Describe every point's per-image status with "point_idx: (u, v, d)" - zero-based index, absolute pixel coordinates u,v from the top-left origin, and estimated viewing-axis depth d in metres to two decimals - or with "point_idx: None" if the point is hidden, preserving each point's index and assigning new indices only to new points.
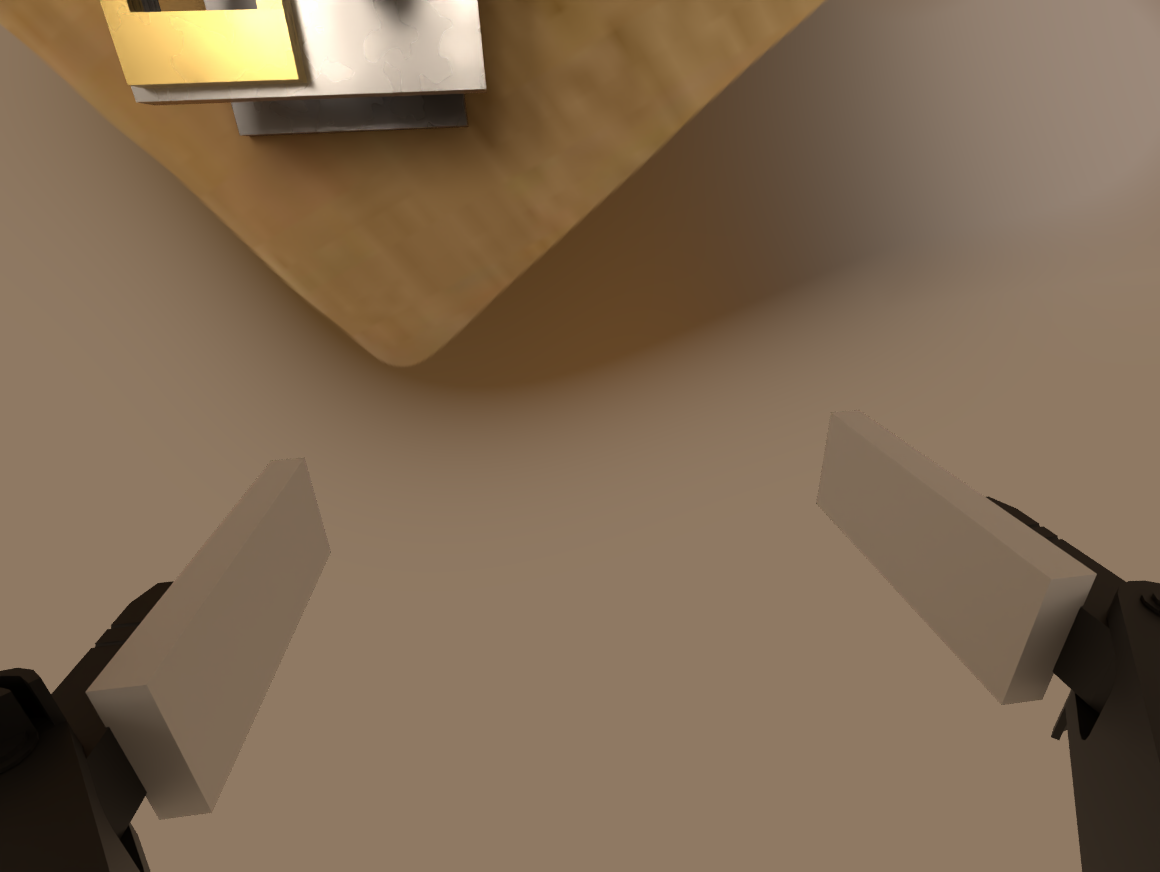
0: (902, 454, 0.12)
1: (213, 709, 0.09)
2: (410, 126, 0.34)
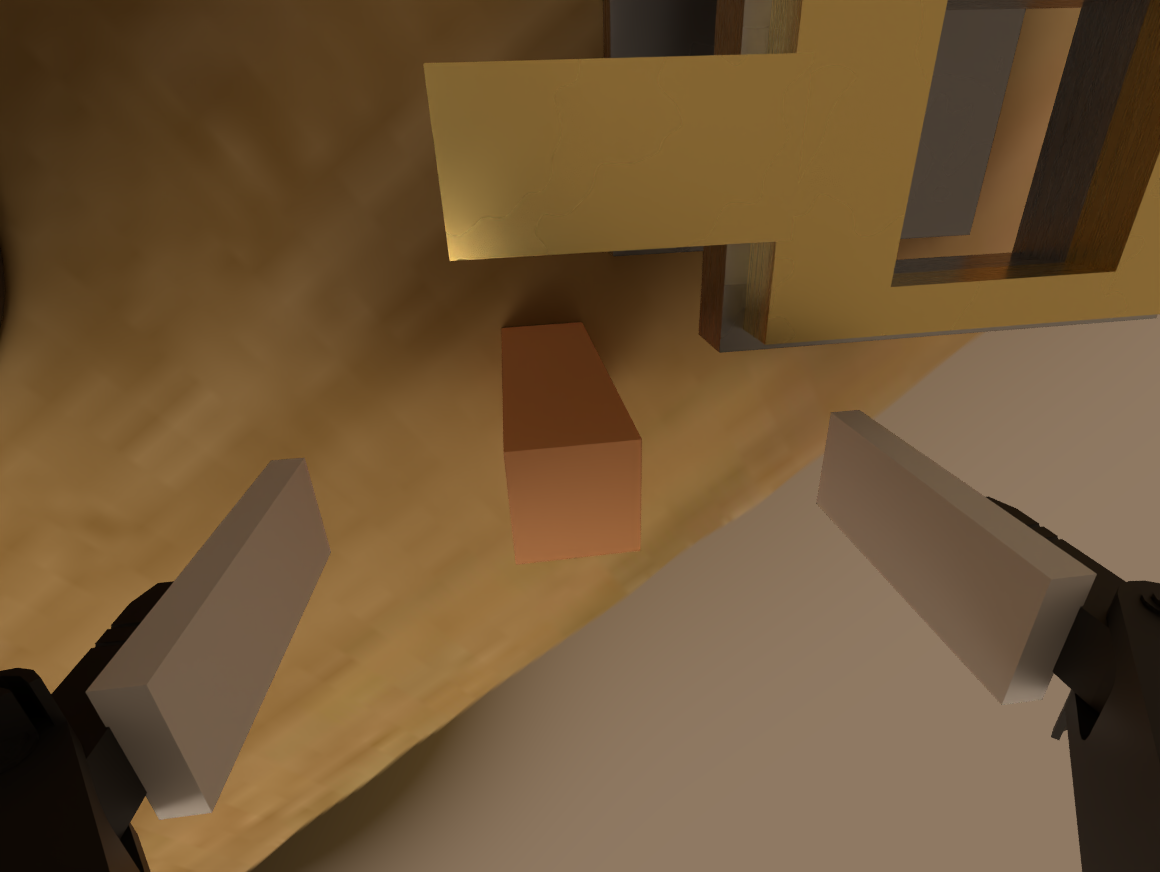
0: (902, 454, 0.12)
1: (213, 709, 0.09)
2: None
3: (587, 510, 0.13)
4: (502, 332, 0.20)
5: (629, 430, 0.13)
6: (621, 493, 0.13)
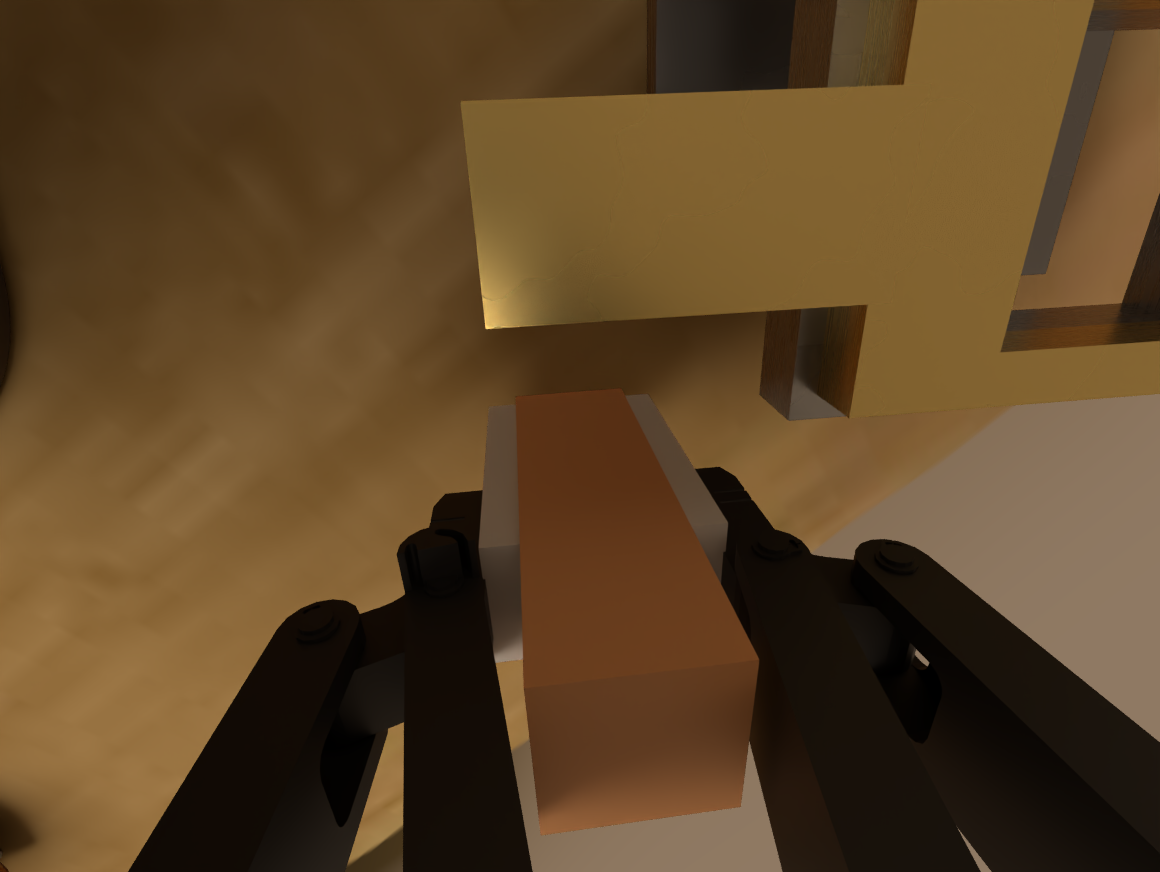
0: (652, 430, 0.14)
1: None
2: None
3: (660, 761, 0.08)
4: (517, 404, 0.15)
5: (732, 633, 0.08)
6: (718, 734, 0.08)
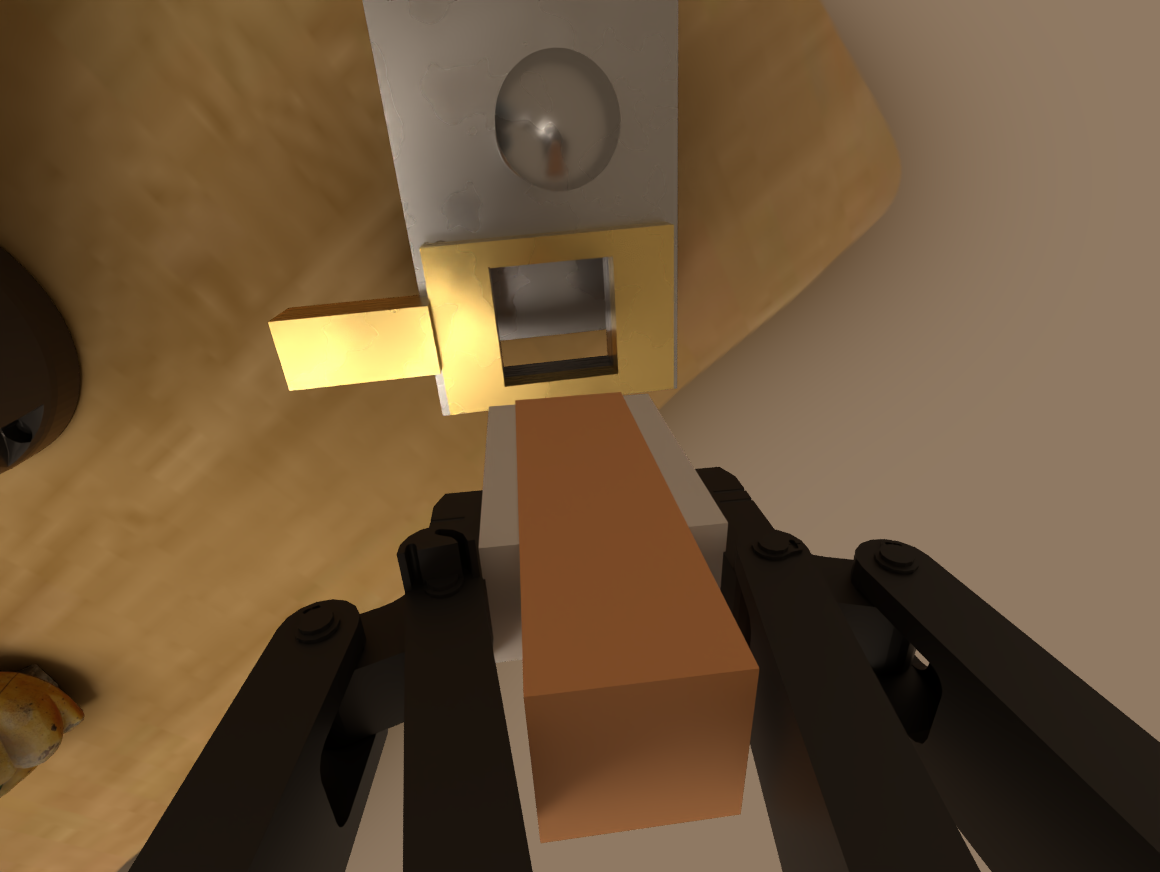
0: (652, 430, 0.14)
1: None
2: None
3: (661, 768, 0.08)
4: (516, 408, 0.15)
5: (732, 641, 0.08)
6: (717, 743, 0.08)
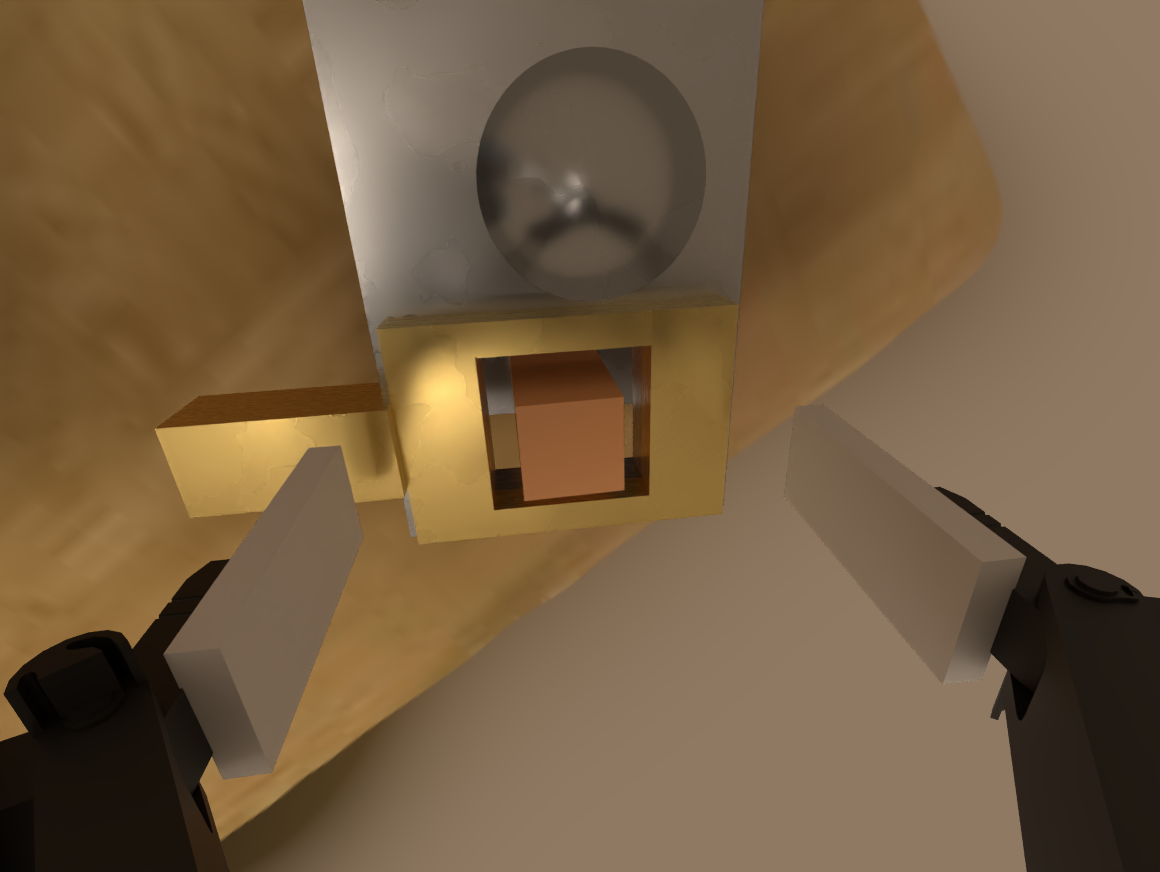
0: (858, 446, 0.13)
1: (271, 676, 0.09)
2: None
3: (581, 455, 0.16)
4: None
5: (614, 391, 0.16)
6: (608, 441, 0.16)
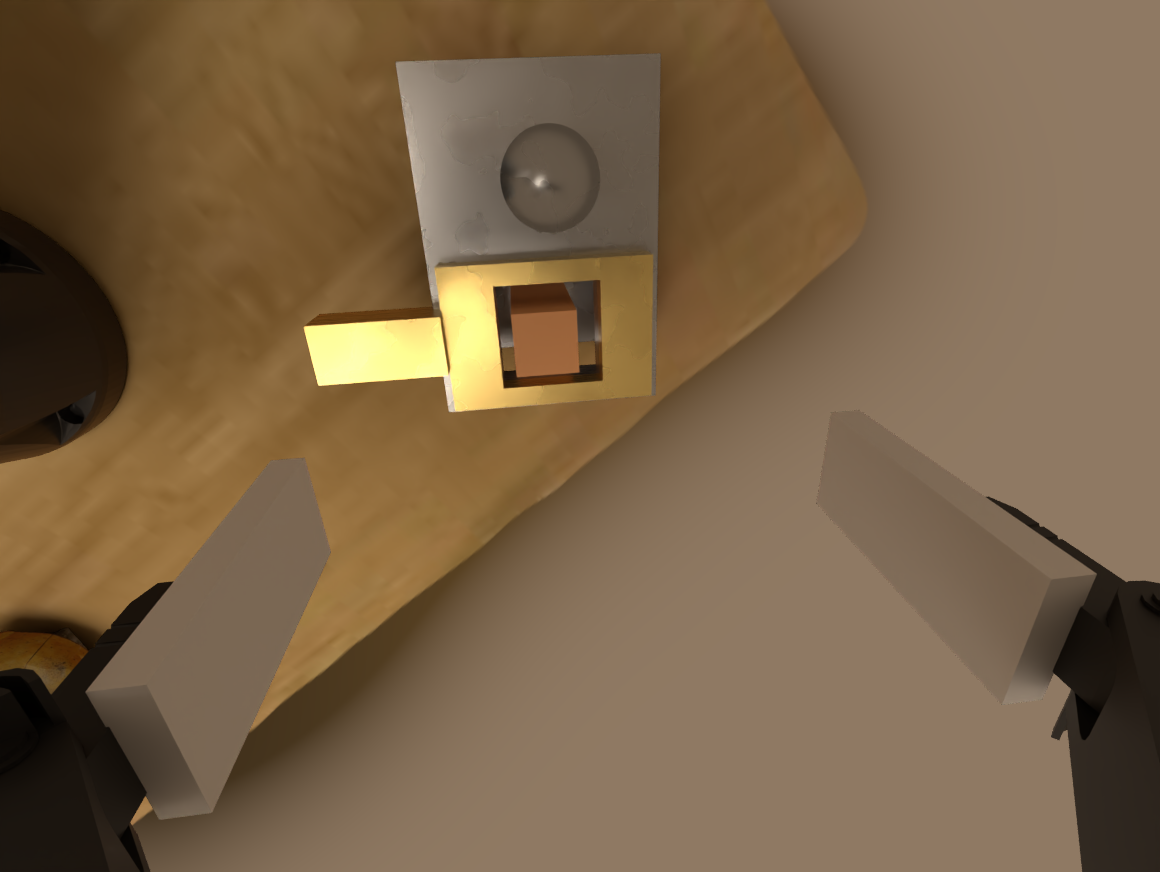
0: (902, 454, 0.12)
1: (213, 709, 0.09)
2: None
3: (552, 348, 0.27)
4: None
5: (571, 307, 0.27)
6: (568, 339, 0.27)
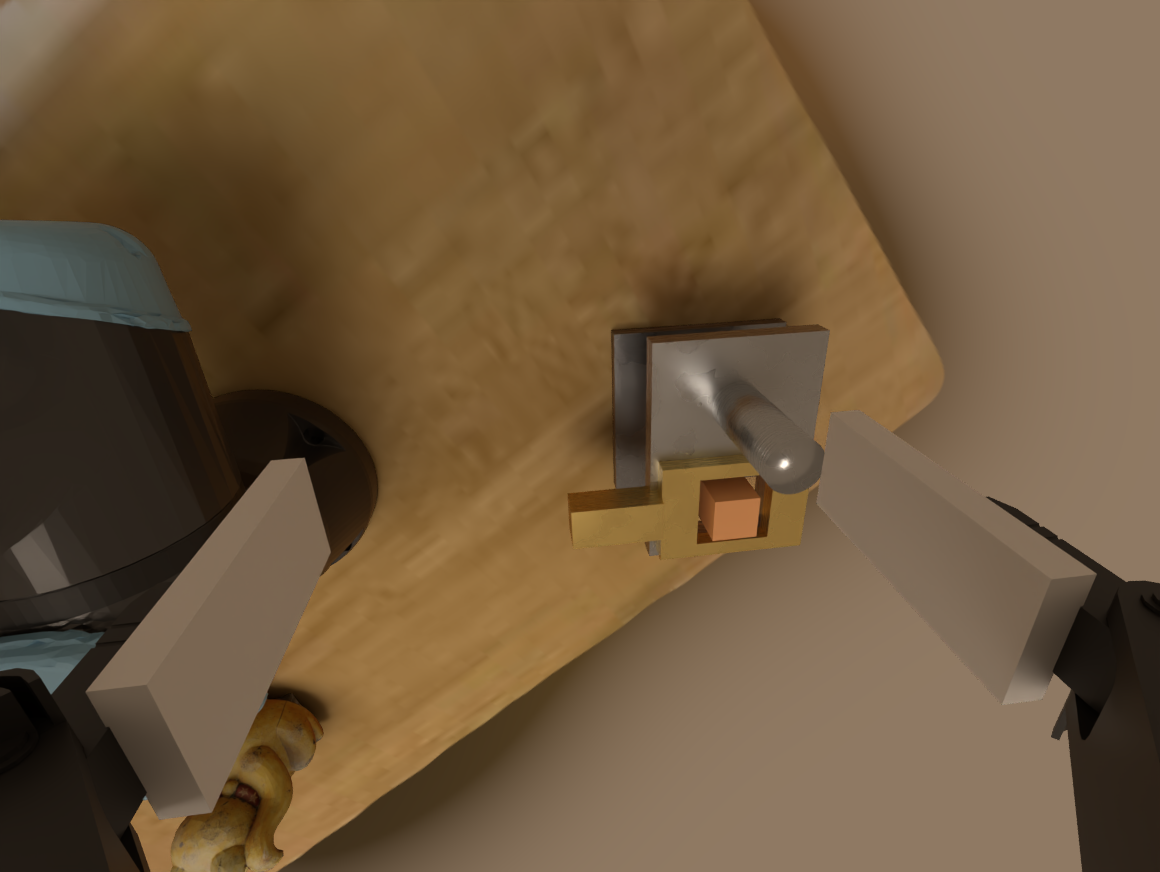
0: (902, 454, 0.12)
1: (213, 709, 0.09)
2: None
3: (739, 522, 0.37)
4: None
5: (755, 494, 0.37)
6: (751, 516, 0.37)
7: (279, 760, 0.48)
